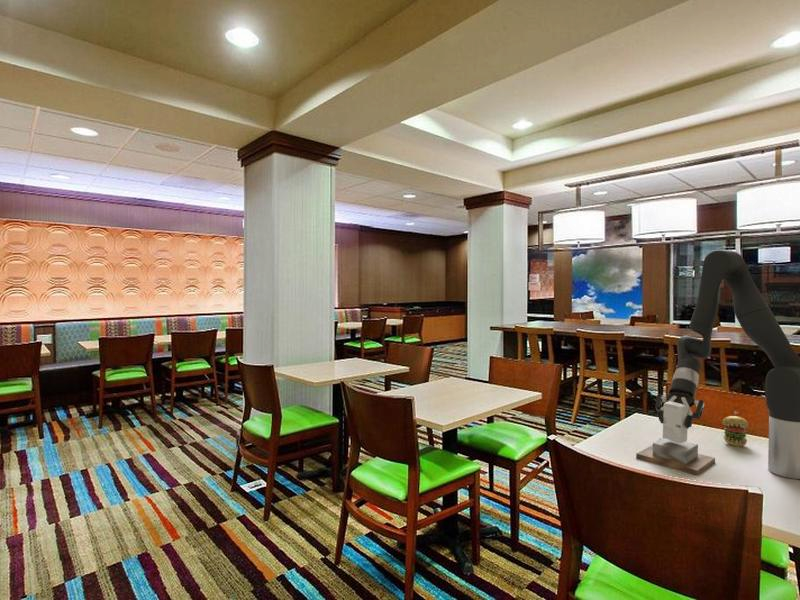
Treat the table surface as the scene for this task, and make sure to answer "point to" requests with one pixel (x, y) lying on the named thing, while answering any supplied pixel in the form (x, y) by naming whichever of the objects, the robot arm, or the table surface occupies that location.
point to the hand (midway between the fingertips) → (674, 424)
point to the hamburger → (735, 430)
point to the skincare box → (675, 421)
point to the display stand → (676, 456)
